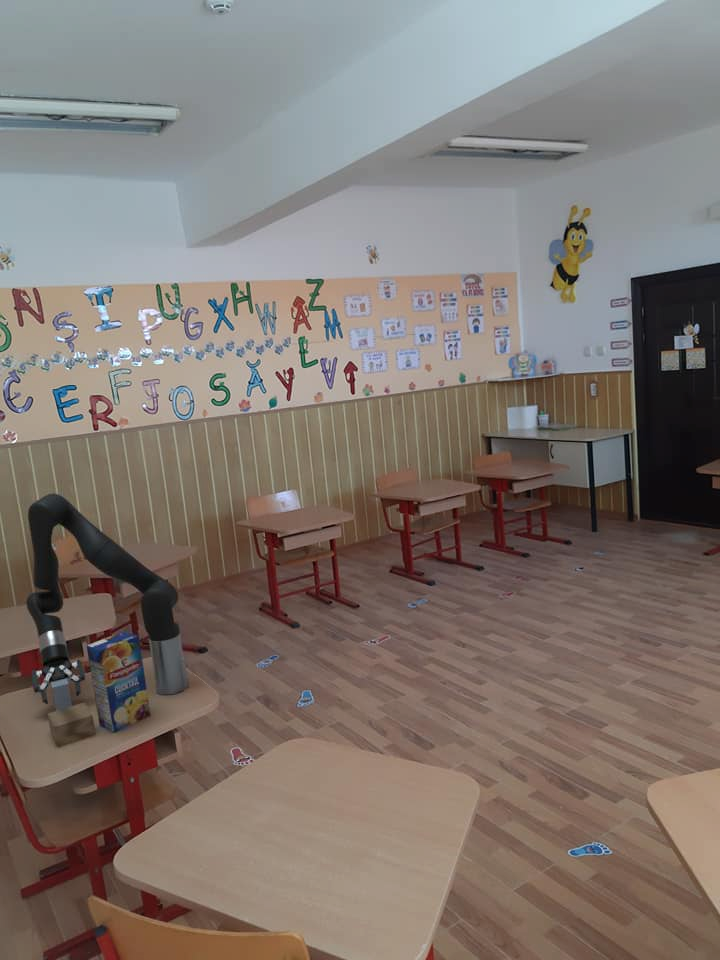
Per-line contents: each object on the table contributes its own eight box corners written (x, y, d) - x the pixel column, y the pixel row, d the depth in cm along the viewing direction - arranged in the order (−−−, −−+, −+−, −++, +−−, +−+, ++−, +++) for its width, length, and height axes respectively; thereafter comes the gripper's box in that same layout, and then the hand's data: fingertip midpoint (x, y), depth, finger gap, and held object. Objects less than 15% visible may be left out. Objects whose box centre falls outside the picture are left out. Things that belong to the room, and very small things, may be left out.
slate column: (72, 709, 222) (67, 678, 220) (73, 715, 218) (68, 683, 216) (56, 713, 220) (51, 682, 218) (57, 719, 216) (52, 687, 214)
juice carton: (136, 708, 219) (124, 631, 215) (150, 714, 214) (139, 635, 210) (99, 726, 210) (86, 645, 206) (113, 733, 205) (100, 650, 201)
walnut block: (87, 721, 214) (84, 702, 213) (95, 735, 205) (92, 715, 204) (50, 733, 209) (47, 713, 208) (57, 747, 200) (53, 727, 199)
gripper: (26, 649, 220) (34, 700, 211) (77, 637, 226) (87, 687, 217) (29, 660, 225) (37, 710, 217) (78, 648, 231) (88, 697, 223)
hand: (62, 698), depth 217 cm, fingers open, 8 cm apart
